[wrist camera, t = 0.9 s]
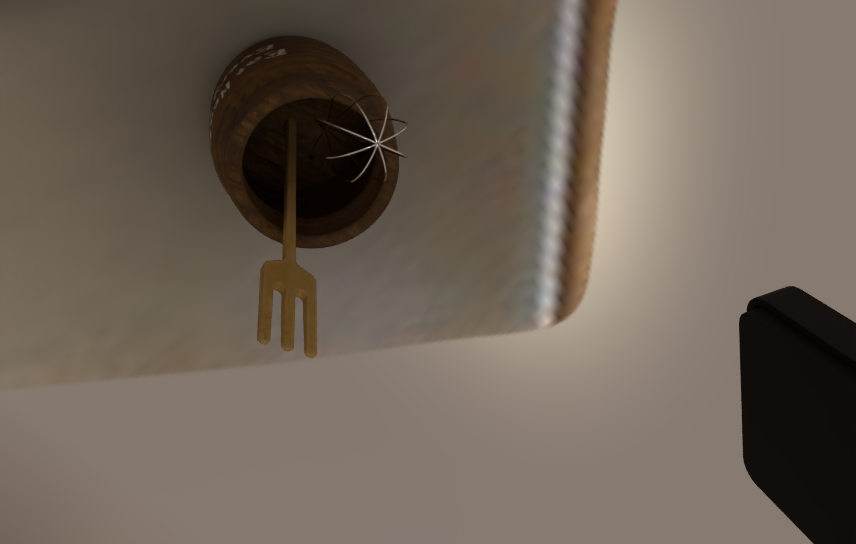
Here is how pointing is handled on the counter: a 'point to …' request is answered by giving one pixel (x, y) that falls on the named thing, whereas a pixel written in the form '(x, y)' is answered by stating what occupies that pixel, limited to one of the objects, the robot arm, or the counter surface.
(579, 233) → the counter surface
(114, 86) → the counter surface
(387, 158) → the utensil holder
